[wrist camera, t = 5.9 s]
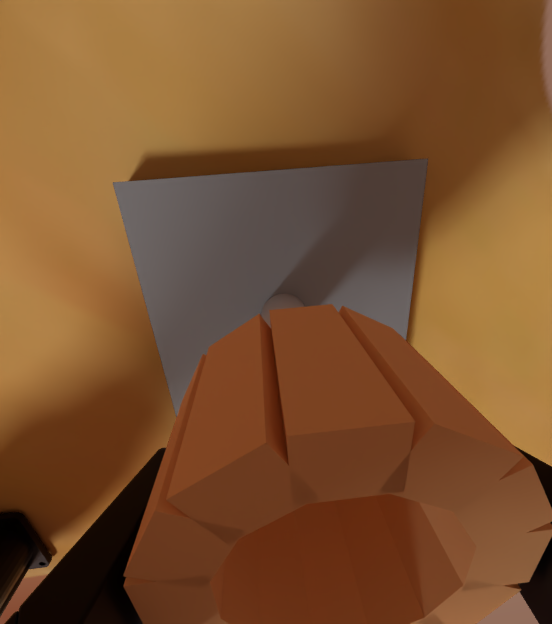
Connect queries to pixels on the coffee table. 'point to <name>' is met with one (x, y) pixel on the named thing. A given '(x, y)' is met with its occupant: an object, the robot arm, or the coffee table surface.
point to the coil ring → (332, 487)
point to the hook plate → (270, 249)
